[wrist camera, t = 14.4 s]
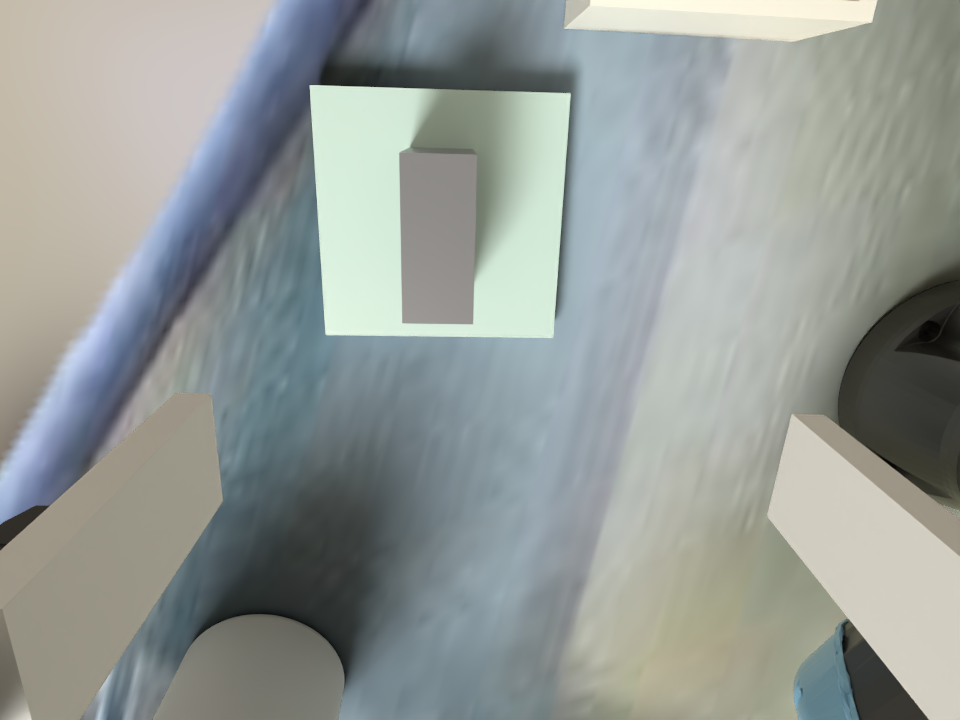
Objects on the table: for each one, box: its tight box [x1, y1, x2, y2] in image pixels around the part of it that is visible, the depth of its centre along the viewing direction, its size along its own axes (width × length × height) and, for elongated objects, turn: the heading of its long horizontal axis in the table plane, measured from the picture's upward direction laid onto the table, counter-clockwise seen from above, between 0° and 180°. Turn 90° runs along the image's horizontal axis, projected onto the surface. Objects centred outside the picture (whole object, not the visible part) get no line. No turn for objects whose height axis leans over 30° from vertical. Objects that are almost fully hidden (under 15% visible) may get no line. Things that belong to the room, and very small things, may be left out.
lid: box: [310, 85, 571, 338], centre depth 34 cm, size 14×14×9 cm
